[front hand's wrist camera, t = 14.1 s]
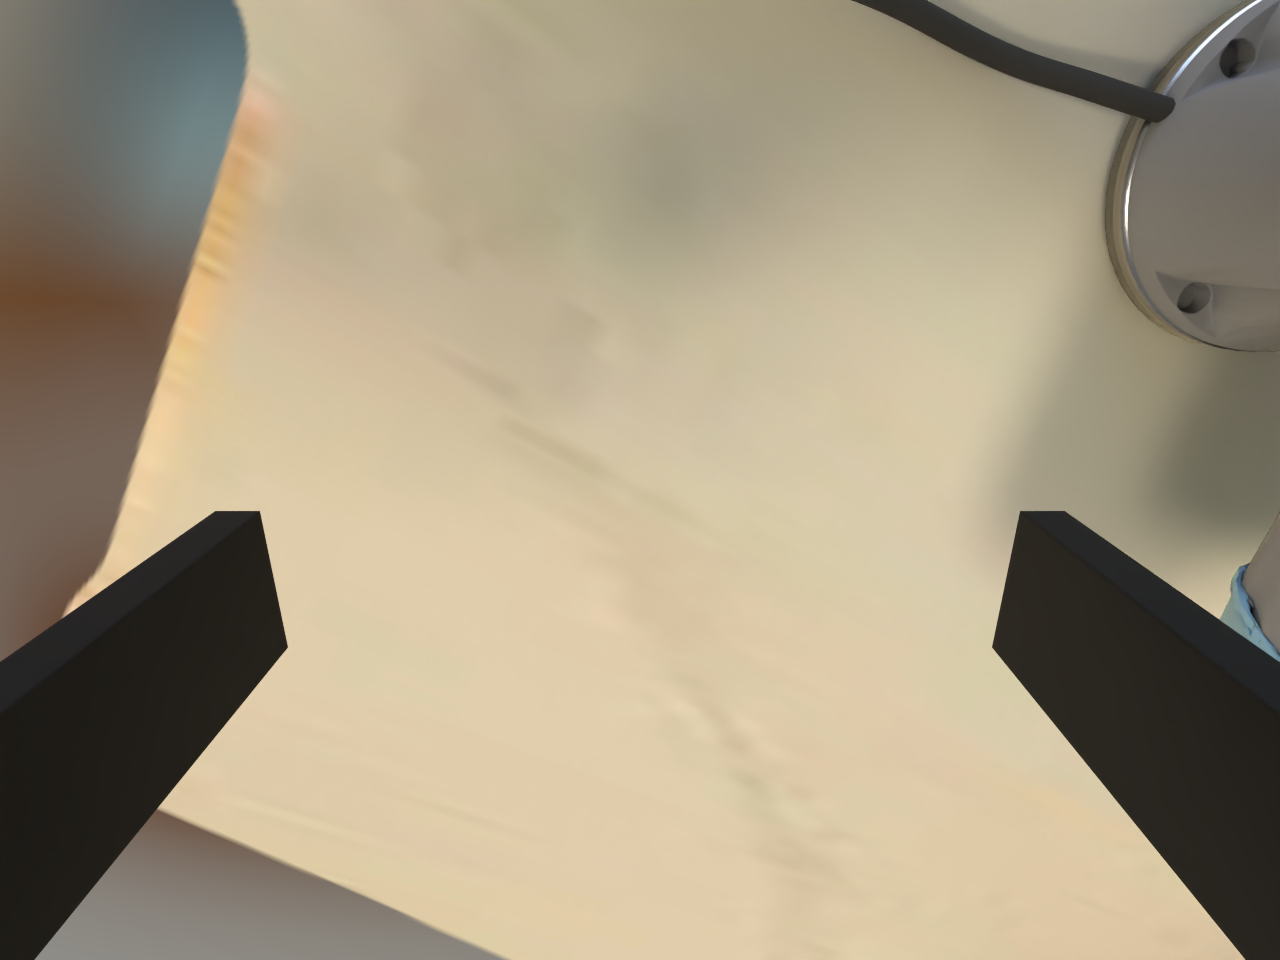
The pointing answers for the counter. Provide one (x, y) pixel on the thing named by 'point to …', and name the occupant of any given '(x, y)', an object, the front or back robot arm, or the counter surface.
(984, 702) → the counter surface
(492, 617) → the counter surface
